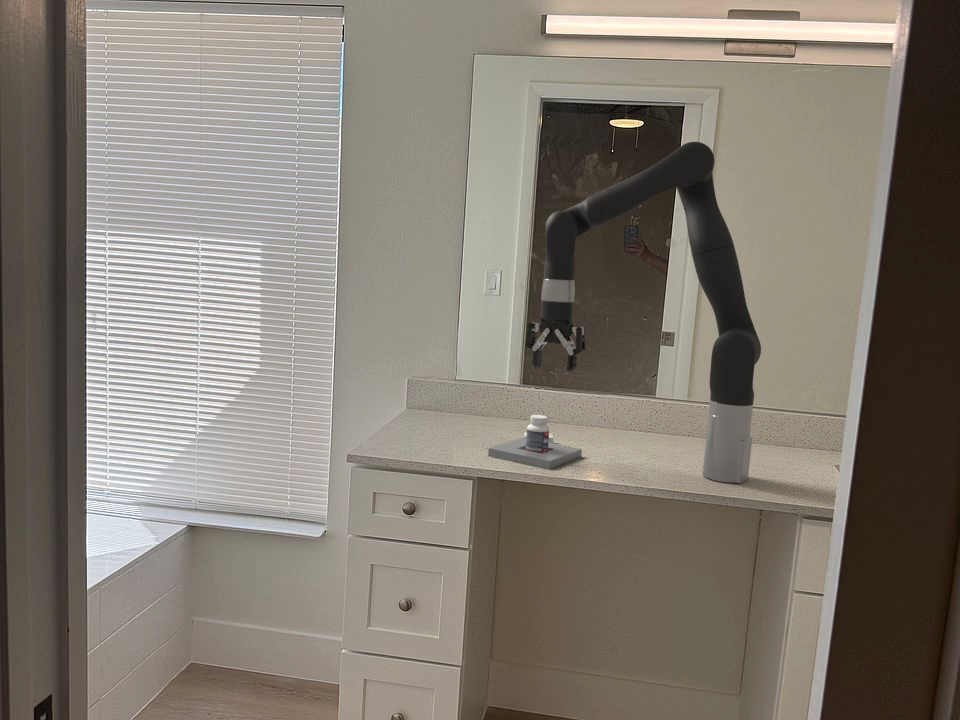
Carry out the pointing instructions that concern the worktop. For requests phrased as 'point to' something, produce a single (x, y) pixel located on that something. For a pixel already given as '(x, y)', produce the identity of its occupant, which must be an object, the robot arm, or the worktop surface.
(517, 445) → the grey square slab
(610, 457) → the worktop surface
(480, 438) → the worktop surface
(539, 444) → the pill bottle
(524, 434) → the soap bar
